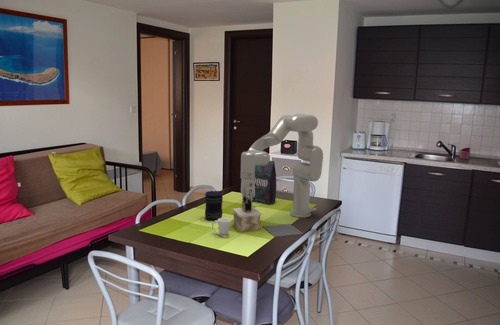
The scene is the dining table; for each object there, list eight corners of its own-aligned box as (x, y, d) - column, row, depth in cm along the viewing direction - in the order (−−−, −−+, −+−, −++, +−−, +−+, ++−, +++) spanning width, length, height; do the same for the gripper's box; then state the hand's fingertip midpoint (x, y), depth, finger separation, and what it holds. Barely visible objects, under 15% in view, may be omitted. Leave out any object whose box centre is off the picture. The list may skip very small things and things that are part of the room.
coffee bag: (269, 205, 270) (271, 162, 265) (248, 201, 278) (249, 159, 273) (276, 202, 277) (277, 160, 271) (254, 198, 285) (256, 157, 280)
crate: (252, 223, 234) (252, 209, 232) (259, 229, 224) (260, 215, 222) (233, 224, 230) (233, 210, 228) (239, 231, 220) (240, 216, 218)
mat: (290, 224, 233) (290, 223, 233) (303, 234, 219) (303, 233, 219) (263, 227, 228) (263, 226, 228) (274, 237, 213) (274, 236, 213)
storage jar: (225, 218, 240) (226, 193, 237) (213, 222, 233) (213, 196, 230) (214, 214, 247) (214, 190, 244) (201, 218, 240) (201, 192, 237)
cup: (228, 238, 210) (228, 222, 209) (209, 235, 213) (209, 220, 211) (232, 233, 217) (233, 218, 215) (214, 231, 220) (214, 216, 218)
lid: (253, 209, 233) (253, 198, 232) (261, 215, 222) (261, 204, 221) (232, 210, 229) (232, 199, 228) (239, 217, 218) (239, 205, 217)
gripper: (260, 178, 215) (259, 212, 218) (249, 171, 231) (248, 204, 234) (246, 179, 213) (245, 214, 216) (236, 172, 228) (235, 205, 231)
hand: (246, 208), depth 225 cm, fingers closed on lid, 4 cm apart
